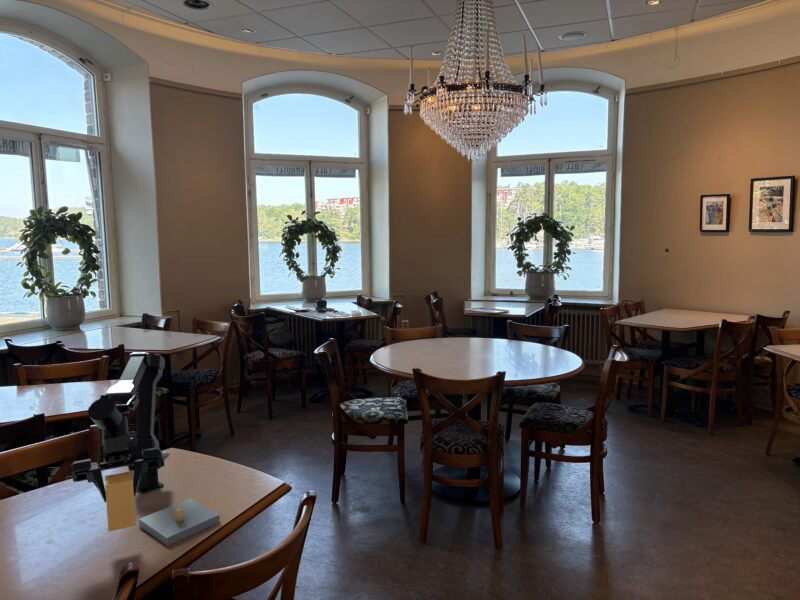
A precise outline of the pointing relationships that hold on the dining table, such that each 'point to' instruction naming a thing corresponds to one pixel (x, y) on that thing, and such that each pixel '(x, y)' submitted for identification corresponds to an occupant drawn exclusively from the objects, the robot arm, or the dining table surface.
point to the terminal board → (178, 529)
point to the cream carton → (120, 501)
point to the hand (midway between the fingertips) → (120, 498)
